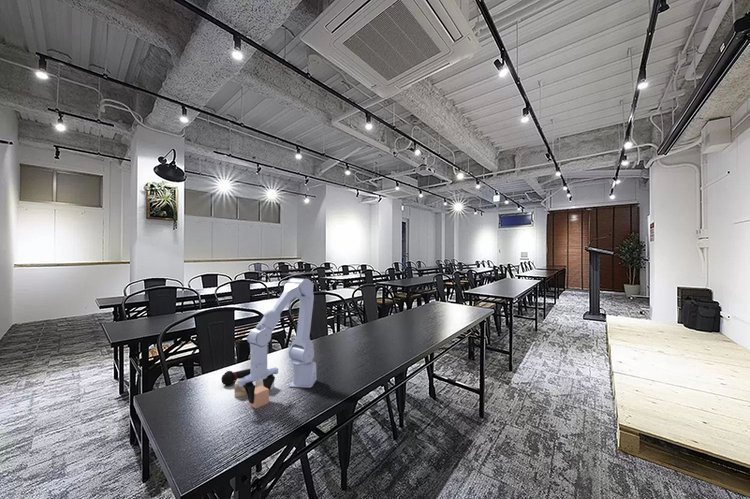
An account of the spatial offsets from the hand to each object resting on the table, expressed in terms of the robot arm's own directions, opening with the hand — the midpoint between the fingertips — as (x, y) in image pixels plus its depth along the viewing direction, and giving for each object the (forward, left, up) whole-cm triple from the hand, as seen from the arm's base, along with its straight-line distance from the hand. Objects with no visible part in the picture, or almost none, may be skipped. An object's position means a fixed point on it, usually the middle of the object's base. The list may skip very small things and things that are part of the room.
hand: (258, 399), depth 104 cm
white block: (+3, -11, -2) cm, 12 cm away
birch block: (+10, -7, -2) cm, 12 cm away
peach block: (0, 0, -1) cm, 1 cm away
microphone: (+17, -21, -2) cm, 27 cm away
